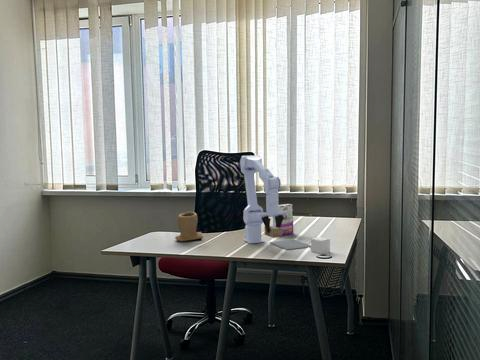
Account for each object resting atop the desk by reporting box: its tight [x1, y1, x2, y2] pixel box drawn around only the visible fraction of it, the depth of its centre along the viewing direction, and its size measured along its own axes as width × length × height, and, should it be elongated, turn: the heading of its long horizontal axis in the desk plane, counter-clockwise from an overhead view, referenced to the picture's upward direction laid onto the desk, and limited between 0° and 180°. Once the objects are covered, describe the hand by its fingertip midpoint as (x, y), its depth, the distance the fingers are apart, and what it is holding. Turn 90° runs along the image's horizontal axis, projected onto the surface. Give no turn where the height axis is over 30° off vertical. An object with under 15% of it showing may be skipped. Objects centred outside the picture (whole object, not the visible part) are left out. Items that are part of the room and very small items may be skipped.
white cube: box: [310, 236, 331, 255], centre depth 207 cm, size 6×6×6 cm
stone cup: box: [175, 211, 204, 242], centre depth 240 cm, size 15×12×15 cm
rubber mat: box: [269, 239, 311, 251], centre depth 223 cm, size 18×14×1 cm
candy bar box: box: [272, 203, 294, 237], centre depth 250 cm, size 11×5×16 cm, turn 126°
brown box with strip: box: [264, 225, 283, 239], centre depth 213 cm, size 9×4×4 cm, turn 23°
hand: (272, 231), depth 213 cm, fingers closed on brown box with strip, 4 cm apart
